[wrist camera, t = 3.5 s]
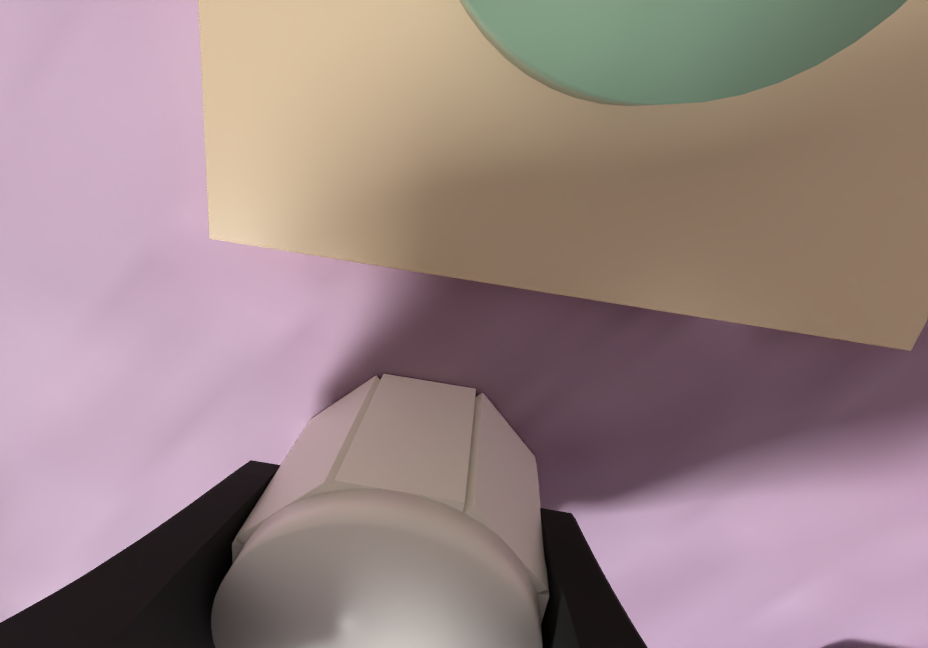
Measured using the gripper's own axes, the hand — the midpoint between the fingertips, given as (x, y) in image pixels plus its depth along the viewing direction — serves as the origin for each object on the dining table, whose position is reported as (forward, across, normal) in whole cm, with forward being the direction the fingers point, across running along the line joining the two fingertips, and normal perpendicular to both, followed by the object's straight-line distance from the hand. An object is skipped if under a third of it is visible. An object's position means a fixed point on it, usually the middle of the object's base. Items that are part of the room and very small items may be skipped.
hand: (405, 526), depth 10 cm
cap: (+1, 0, 0) cm, 1 cm away
